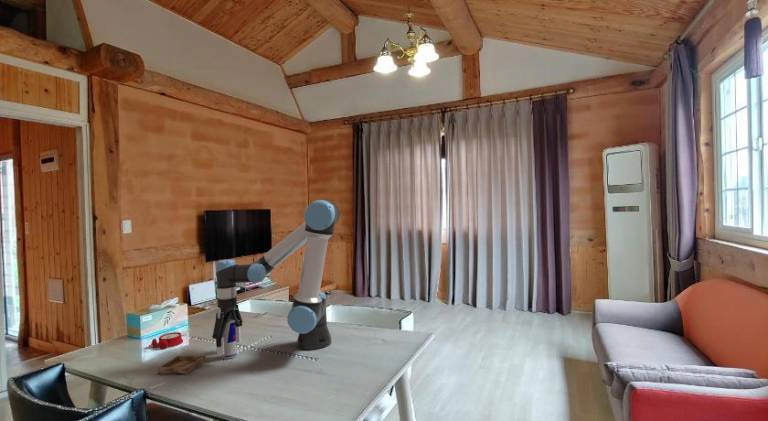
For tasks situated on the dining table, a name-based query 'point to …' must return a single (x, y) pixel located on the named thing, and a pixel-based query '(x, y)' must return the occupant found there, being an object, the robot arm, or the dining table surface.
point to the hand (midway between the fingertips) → (229, 347)
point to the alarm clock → (168, 340)
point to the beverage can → (229, 340)
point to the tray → (181, 365)
